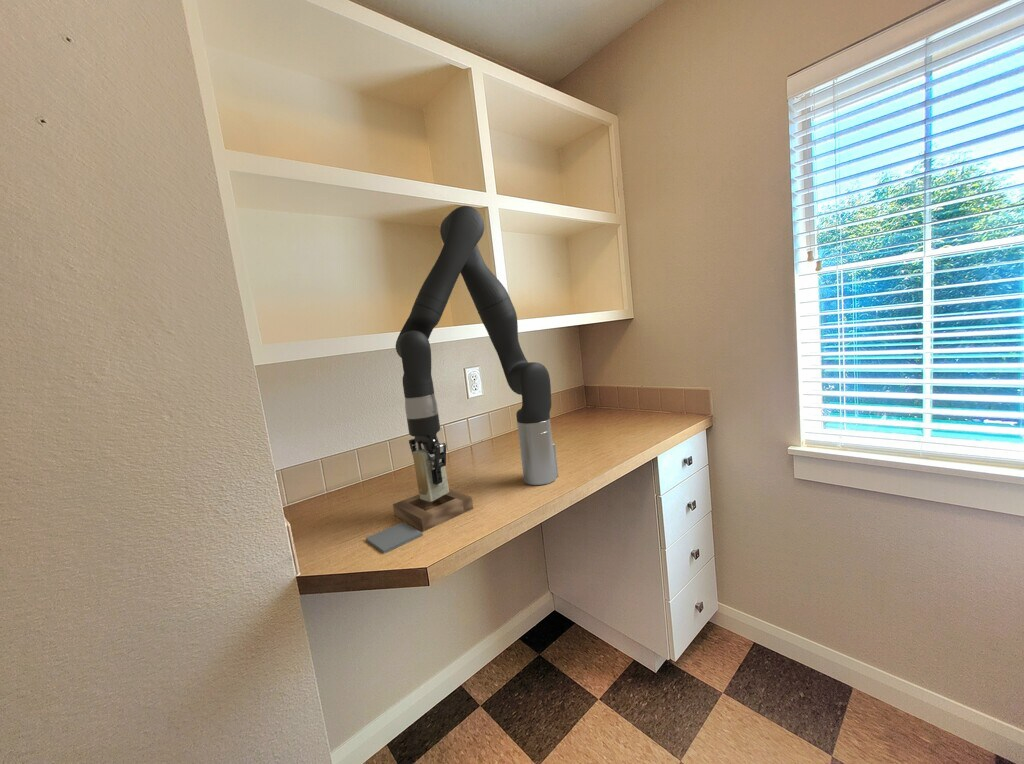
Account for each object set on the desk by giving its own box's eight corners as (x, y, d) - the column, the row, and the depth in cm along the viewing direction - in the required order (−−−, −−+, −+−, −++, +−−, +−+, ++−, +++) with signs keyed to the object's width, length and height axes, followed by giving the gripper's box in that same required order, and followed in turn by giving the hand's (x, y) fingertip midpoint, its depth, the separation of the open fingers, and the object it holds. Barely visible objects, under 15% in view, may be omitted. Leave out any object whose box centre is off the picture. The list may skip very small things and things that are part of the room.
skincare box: (438, 490, 103) (432, 444, 102) (450, 492, 100) (443, 445, 99) (418, 499, 98) (411, 451, 97) (429, 502, 95) (422, 453, 94)
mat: (403, 524, 94) (402, 521, 94) (422, 535, 88) (422, 532, 87) (366, 540, 88) (365, 537, 88) (384, 553, 82) (383, 550, 81)
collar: (442, 496, 109) (440, 485, 109) (473, 508, 99) (471, 496, 98) (394, 515, 100) (392, 504, 99) (423, 531, 89) (421, 518, 89)
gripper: (451, 412, 94) (461, 482, 96) (421, 409, 105) (430, 472, 107) (423, 419, 89) (434, 493, 91) (394, 415, 100) (404, 481, 102)
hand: (432, 481), depth 99 cm, fingers closed on skincare box, 4 cm apart
